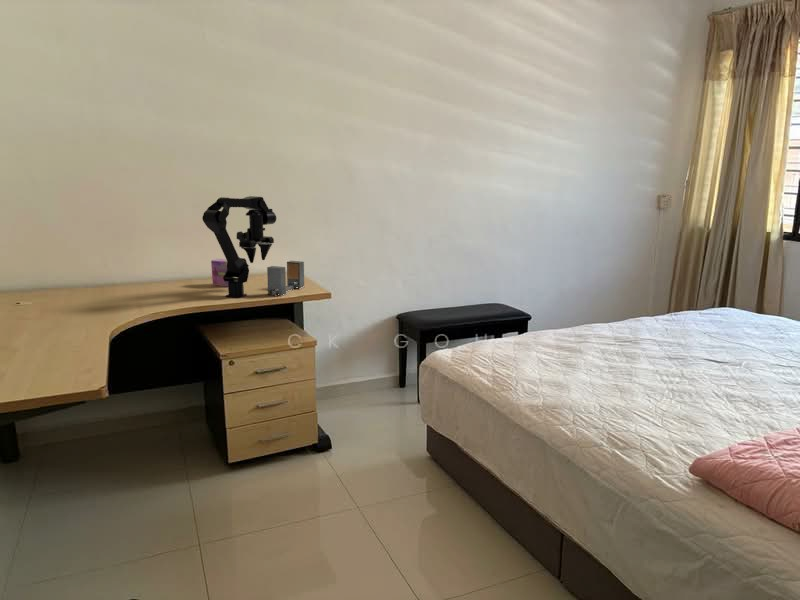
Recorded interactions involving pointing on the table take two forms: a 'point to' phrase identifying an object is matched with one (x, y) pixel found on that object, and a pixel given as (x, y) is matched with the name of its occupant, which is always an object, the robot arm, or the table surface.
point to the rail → (289, 287)
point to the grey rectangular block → (295, 273)
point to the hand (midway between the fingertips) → (257, 261)
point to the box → (219, 271)
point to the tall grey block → (276, 279)
